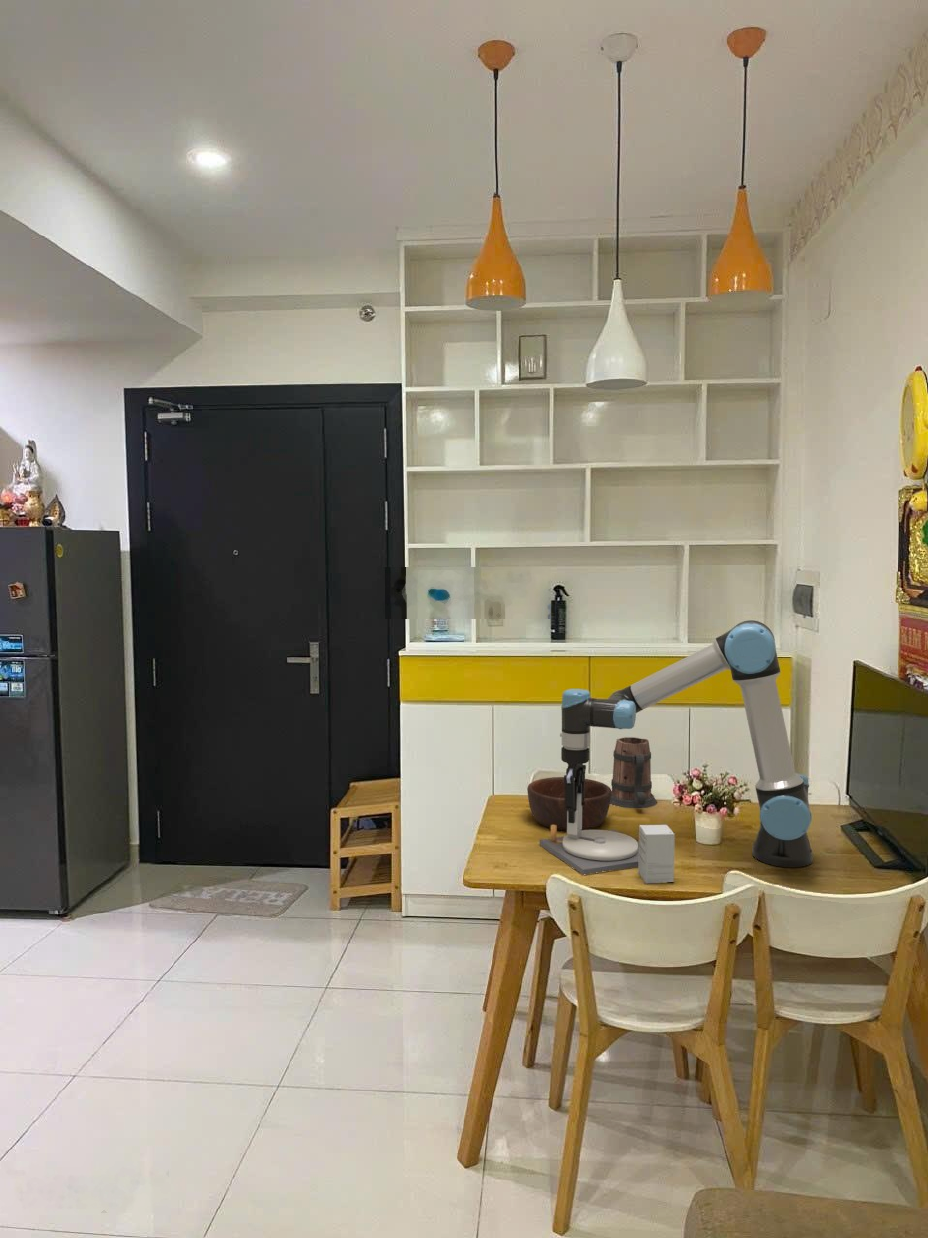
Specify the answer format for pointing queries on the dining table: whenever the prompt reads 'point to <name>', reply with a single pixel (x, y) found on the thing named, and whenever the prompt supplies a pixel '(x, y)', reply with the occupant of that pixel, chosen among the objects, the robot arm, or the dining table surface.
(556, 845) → the dial plate
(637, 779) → the tankard
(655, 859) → the supplement box
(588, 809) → the wooden bowl
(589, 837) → the grey round-based post piece
